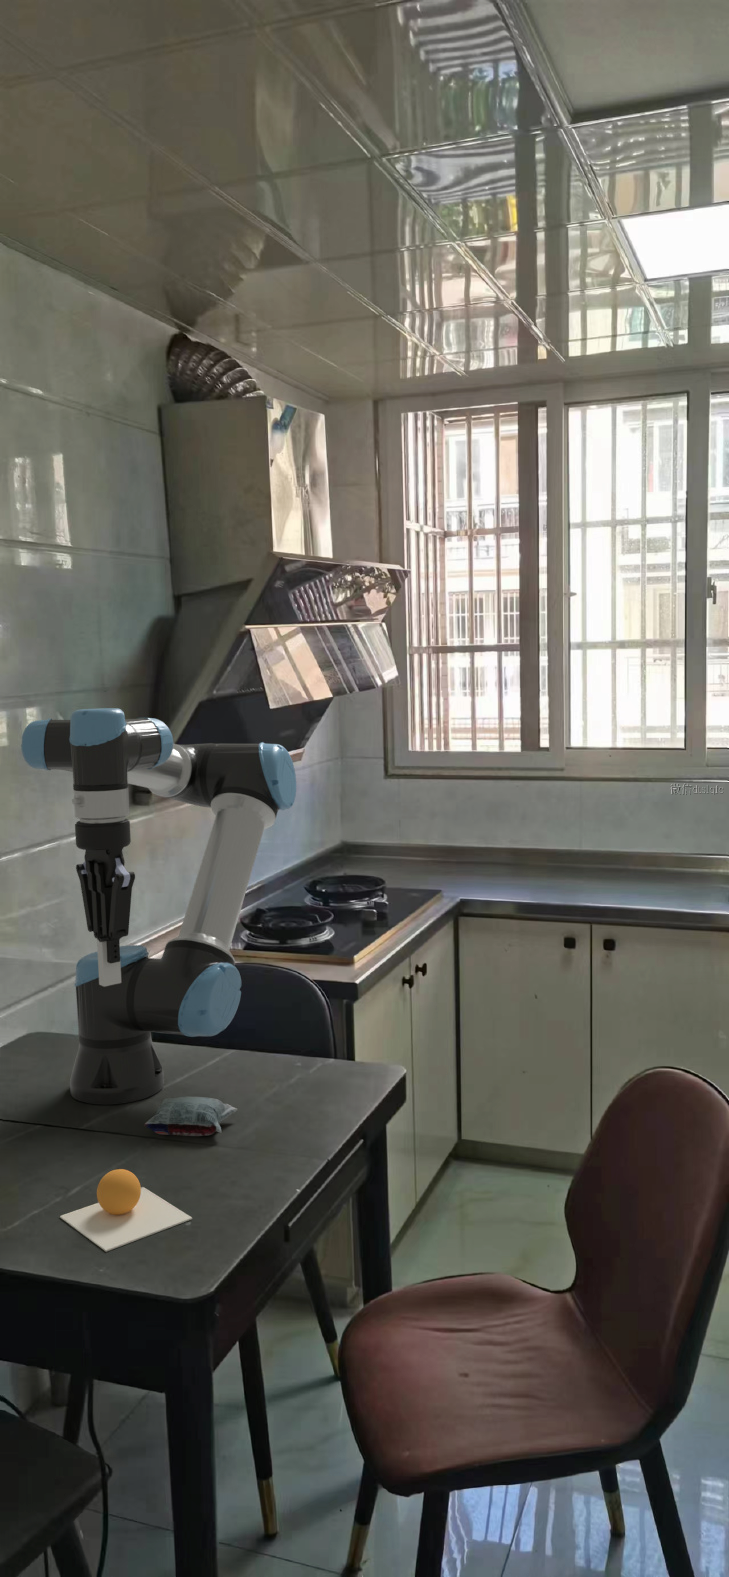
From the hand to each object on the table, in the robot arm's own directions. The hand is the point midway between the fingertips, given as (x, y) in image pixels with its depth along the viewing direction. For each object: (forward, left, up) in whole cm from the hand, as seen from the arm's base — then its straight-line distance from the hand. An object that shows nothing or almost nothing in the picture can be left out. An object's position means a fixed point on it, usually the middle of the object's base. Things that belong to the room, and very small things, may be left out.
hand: (110, 983), depth 168 cm
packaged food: (+1, +12, -25) cm, 28 cm away
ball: (+18, -10, -22) cm, 30 cm away
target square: (+20, -10, -24) cm, 33 cm away
